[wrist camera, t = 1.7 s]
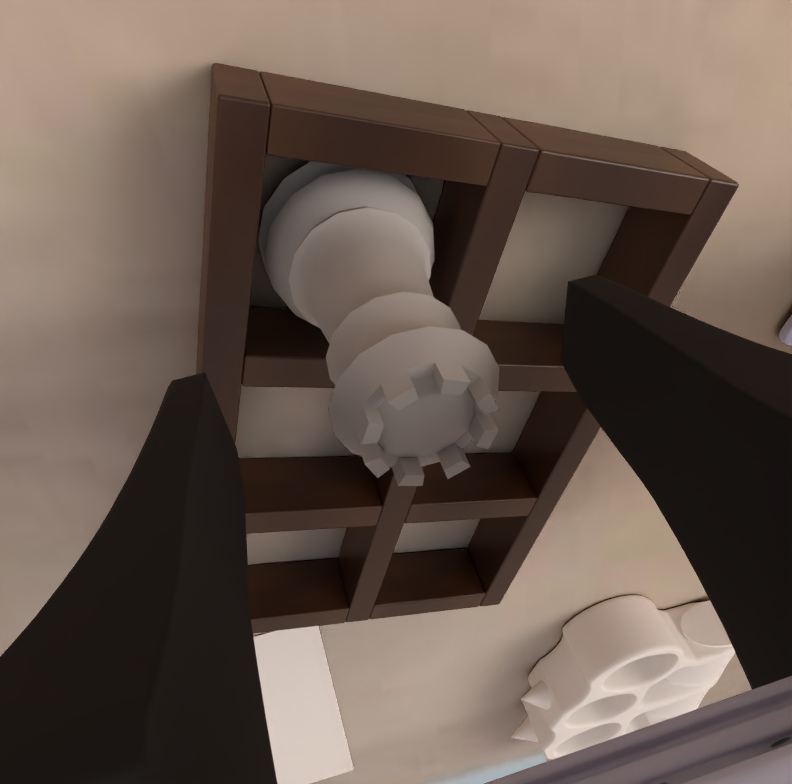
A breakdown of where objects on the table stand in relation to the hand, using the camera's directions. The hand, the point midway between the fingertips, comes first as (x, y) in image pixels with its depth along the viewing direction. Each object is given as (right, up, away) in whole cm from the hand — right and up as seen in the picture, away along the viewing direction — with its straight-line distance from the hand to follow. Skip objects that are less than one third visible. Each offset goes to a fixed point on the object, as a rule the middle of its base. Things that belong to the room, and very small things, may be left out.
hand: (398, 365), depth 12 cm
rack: (0, -1, +9) cm, 9 cm away
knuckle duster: (+14, -18, +29) cm, 37 cm away
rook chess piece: (-2, +4, +4) cm, 6 cm away
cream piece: (-13, -20, +22) cm, 32 cm away
